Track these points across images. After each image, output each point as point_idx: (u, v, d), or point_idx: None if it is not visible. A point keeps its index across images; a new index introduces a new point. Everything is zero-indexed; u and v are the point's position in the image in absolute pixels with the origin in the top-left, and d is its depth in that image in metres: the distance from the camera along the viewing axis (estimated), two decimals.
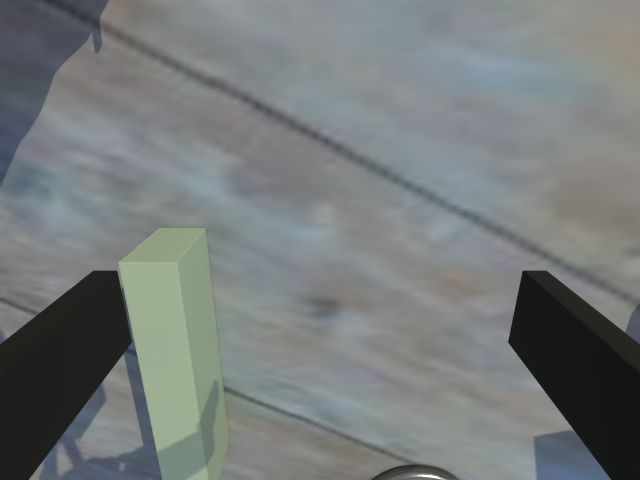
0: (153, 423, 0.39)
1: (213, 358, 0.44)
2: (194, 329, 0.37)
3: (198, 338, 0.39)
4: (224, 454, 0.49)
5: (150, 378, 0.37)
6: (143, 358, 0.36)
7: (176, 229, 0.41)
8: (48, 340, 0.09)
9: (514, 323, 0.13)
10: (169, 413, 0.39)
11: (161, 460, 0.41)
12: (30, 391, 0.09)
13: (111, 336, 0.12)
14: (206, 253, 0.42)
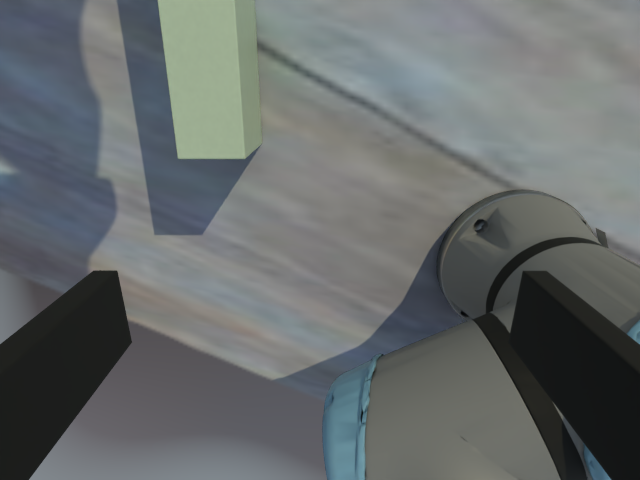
0: None
1: None
2: None
3: None
4: (257, 142, 0.34)
5: None
6: None
7: None
8: (48, 340, 0.09)
9: (514, 323, 0.13)
10: None
11: (169, 53, 0.26)
12: (30, 391, 0.09)
13: (111, 336, 0.12)
14: None
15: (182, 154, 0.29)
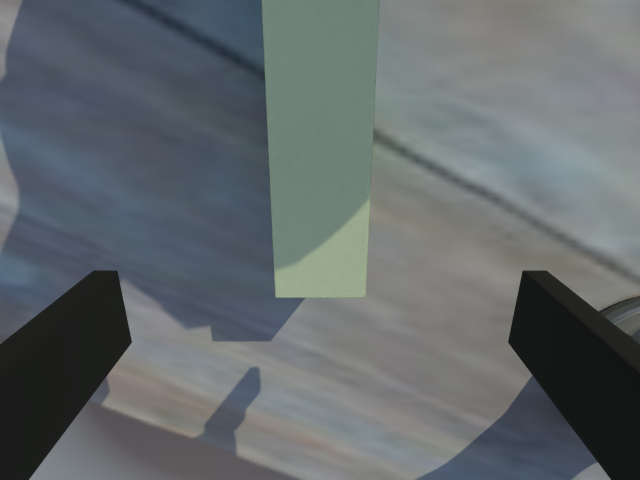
0: (270, 54, 0.17)
1: None
2: None
3: None
4: None
5: None
6: None
7: None
8: (48, 340, 0.09)
9: (514, 323, 0.13)
10: (310, 21, 0.17)
11: (276, 170, 0.19)
12: (30, 391, 0.09)
13: (111, 336, 0.12)
14: None
15: (282, 292, 0.21)
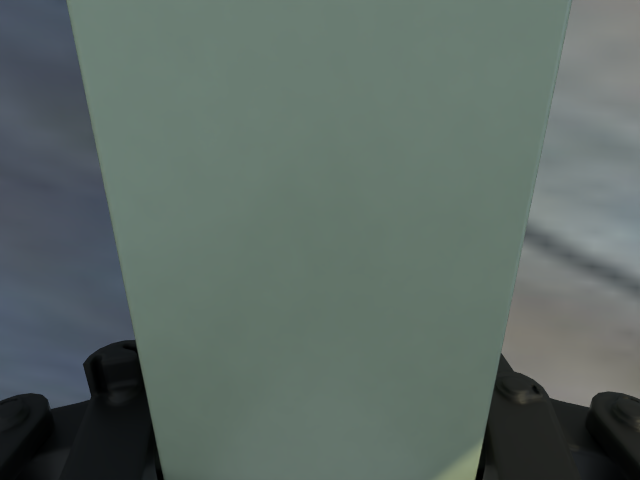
0: None
1: None
2: None
3: None
4: None
5: None
6: None
7: None
8: None
9: None
10: None
11: (165, 374, 0.05)
12: None
13: None
14: None
15: None
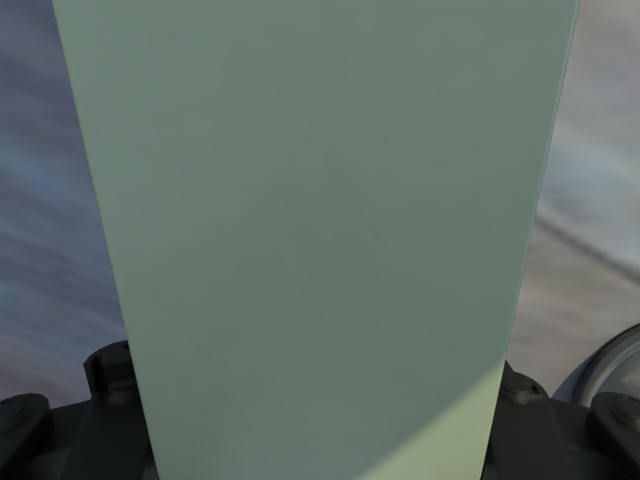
0: None
1: None
2: None
3: None
4: None
5: None
6: None
7: None
8: None
9: None
10: None
11: (159, 378, 0.05)
12: None
13: None
14: None
15: None
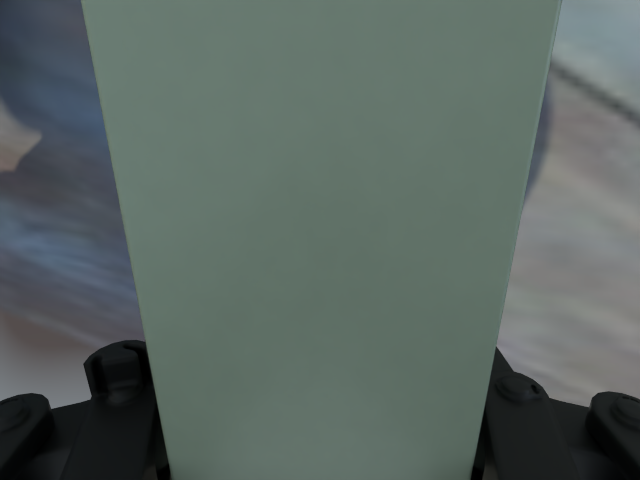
0: None
1: None
2: None
3: None
4: None
5: None
6: None
7: None
8: None
9: None
10: None
11: (171, 363, 0.06)
12: None
13: None
14: None
15: None
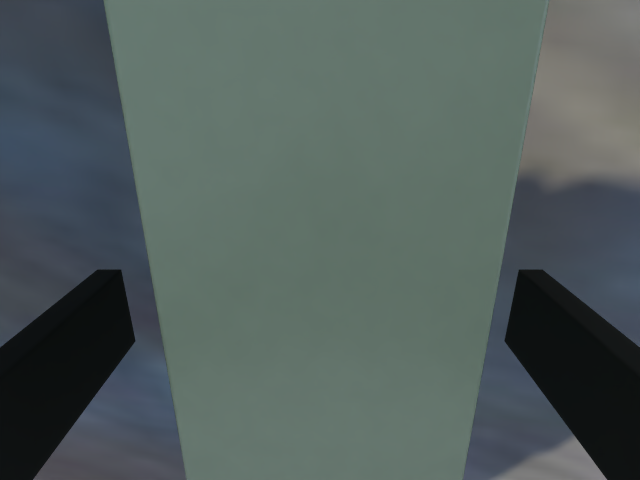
0: None
1: None
2: None
3: None
4: None
5: None
6: None
7: None
8: (54, 338, 0.09)
9: (511, 322, 0.13)
10: None
11: (182, 335, 0.06)
12: (36, 389, 0.09)
13: (115, 335, 0.12)
14: None
15: None
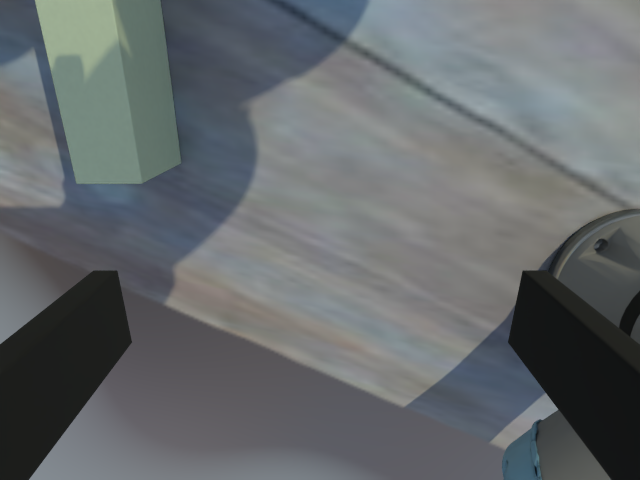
0: None
1: None
2: None
3: None
4: (171, 163, 0.35)
5: None
6: None
7: None
8: (48, 340, 0.09)
9: (514, 323, 0.13)
10: None
11: (58, 83, 0.27)
12: (30, 391, 0.09)
13: (111, 336, 0.12)
14: None
15: (80, 179, 0.29)
